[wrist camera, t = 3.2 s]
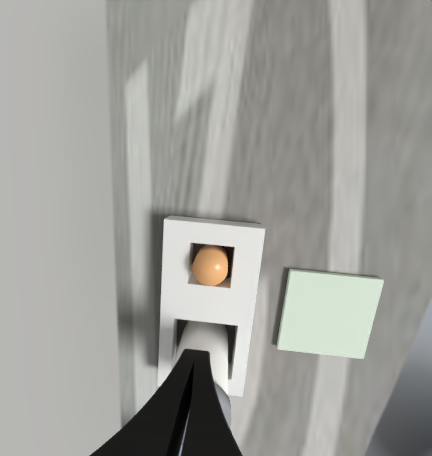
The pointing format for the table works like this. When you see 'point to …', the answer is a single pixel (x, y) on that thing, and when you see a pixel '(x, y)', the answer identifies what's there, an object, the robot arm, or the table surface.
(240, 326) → the housing
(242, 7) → the table surface
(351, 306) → the mat
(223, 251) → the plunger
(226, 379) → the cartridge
